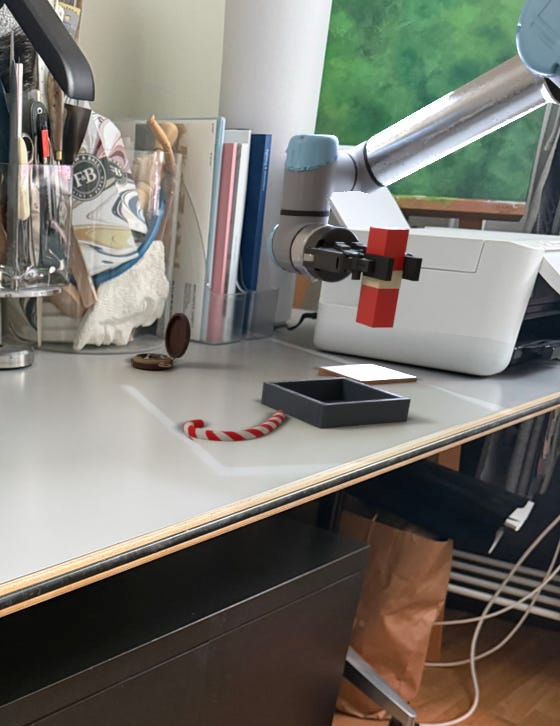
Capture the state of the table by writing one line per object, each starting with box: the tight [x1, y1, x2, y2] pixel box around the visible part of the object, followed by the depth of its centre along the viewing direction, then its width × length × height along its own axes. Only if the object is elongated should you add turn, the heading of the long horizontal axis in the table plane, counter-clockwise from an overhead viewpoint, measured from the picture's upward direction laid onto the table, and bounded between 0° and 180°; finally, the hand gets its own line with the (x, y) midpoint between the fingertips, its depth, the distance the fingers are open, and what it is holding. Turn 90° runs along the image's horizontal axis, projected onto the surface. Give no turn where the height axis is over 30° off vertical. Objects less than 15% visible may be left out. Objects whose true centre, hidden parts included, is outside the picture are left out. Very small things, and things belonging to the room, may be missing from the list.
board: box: [317, 363, 418, 386], centre depth 129 cm, size 10×9×1 cm
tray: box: [260, 377, 412, 430], centre depth 109 cm, size 13×12×3 cm
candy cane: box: [182, 410, 287, 442], centre depth 102 cm, size 8×1×15 cm
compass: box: [130, 312, 192, 370], centre depth 132 cm, size 8×8×7 cm
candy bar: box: [355, 226, 410, 329], centre depth 123 cm, size 3×5×12 cm, turn 11°
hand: (403, 269), depth 118 cm, fingers closed on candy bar, 3 cm apart
